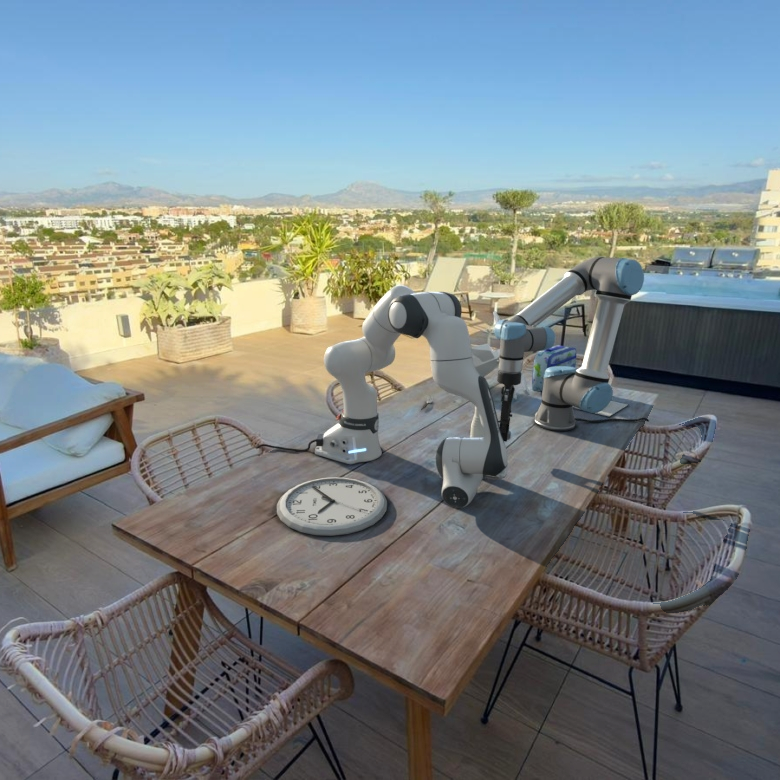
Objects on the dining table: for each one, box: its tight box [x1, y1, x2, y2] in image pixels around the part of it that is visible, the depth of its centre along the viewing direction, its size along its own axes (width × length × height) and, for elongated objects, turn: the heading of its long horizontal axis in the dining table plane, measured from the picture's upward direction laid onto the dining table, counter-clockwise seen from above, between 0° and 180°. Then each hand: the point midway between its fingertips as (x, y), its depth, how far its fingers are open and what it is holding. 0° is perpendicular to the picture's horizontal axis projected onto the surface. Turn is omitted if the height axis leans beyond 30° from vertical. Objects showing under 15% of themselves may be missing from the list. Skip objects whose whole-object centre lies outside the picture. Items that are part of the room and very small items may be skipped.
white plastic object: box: [471, 310, 531, 400], centre depth 245 cm, size 37×45×31 cm
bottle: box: [469, 405, 484, 437], centre depth 160 cm, size 5×5×22 cm
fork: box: [420, 395, 435, 411], centre depth 224 cm, size 3×16×2 cm, turn 160°
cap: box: [507, 429, 512, 441], centre depth 175 cm, size 5×5×2 cm
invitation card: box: [573, 400, 629, 418], centre depth 226 cm, size 21×1×15 cm
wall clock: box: [276, 476, 388, 537], centre depth 142 cm, size 30×2×30 cm
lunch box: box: [531, 345, 577, 394], centre depth 245 cm, size 26×11×21 cm, turn 134°
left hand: (477, 454), depth 162 cm, fingers closed on bottle, 5 cm apart
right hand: (503, 437), depth 176 cm, fingers closed on cap, 4 cm apart
